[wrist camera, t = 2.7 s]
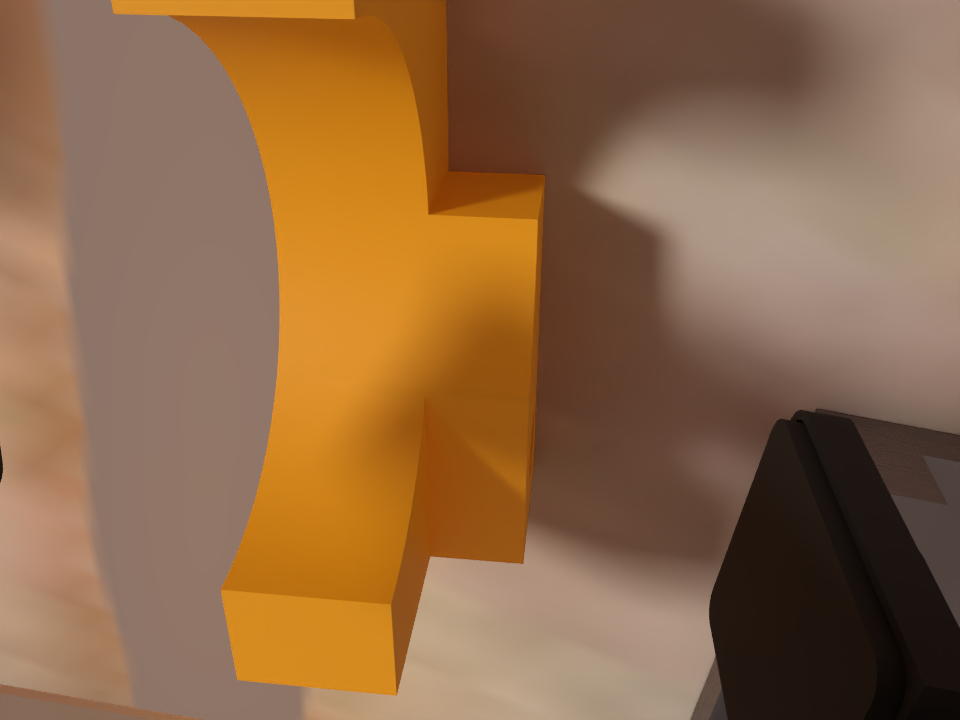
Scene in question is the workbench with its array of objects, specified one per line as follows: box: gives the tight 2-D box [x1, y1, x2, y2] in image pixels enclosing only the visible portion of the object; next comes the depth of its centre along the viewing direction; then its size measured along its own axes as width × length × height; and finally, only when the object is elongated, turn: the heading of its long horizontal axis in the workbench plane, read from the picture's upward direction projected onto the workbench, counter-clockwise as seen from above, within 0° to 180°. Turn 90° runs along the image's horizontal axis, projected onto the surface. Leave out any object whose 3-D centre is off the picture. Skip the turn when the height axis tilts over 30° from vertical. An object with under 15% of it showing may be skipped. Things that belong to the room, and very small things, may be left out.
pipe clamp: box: [111, 0, 545, 696], centre depth 14 cm, size 12×4×6 cm, turn 0°
